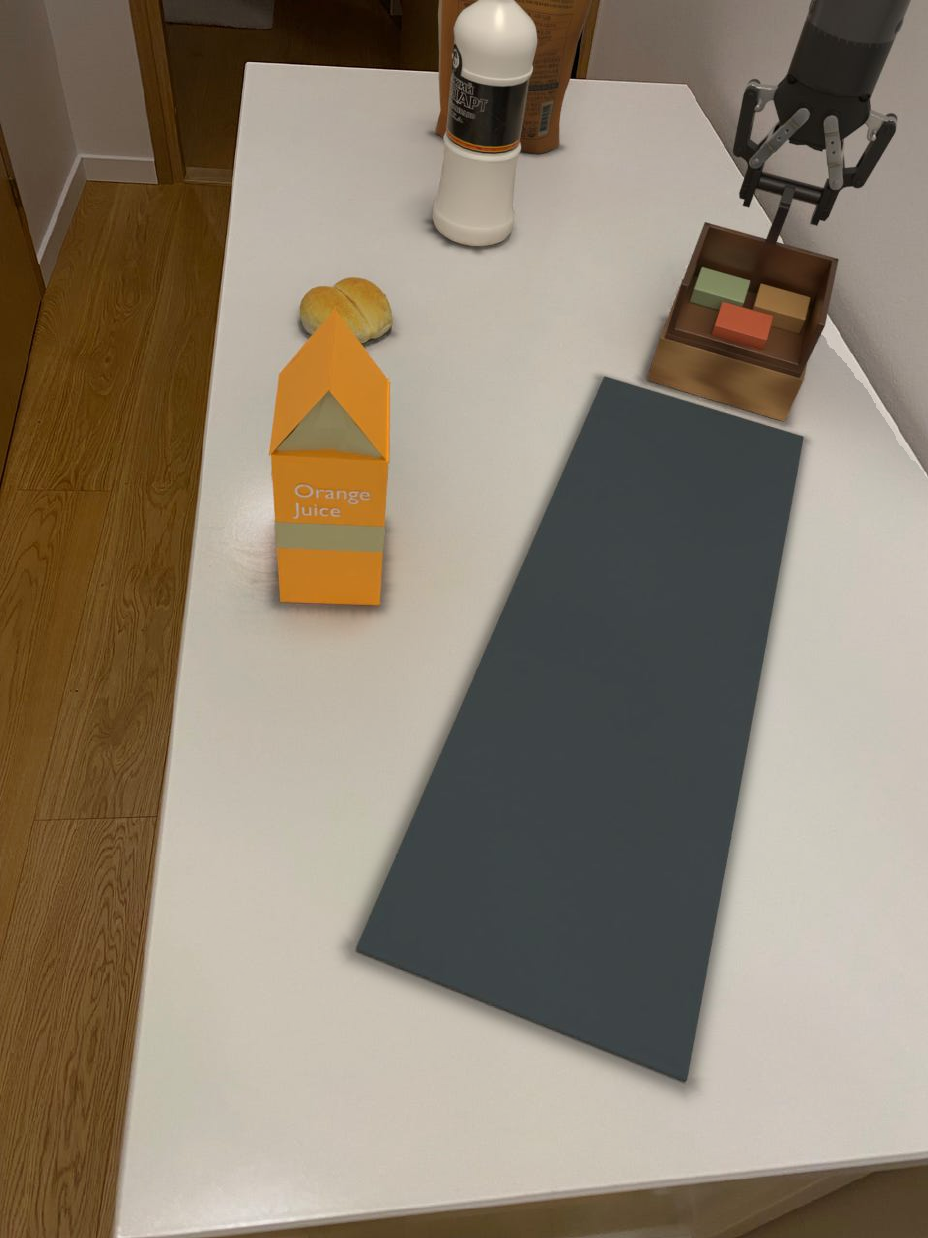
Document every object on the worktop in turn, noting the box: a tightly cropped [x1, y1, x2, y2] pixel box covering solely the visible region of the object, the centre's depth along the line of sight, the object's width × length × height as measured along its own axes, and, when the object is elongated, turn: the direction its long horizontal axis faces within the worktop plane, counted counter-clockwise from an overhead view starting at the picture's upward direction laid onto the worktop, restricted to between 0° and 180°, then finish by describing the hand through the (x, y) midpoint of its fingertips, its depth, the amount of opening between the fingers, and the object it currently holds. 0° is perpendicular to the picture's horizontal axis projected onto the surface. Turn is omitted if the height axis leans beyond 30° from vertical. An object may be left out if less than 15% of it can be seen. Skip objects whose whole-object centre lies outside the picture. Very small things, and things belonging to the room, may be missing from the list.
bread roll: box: [299, 276, 394, 345], centre depth 93 cm, size 8×9×4 cm
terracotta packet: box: [711, 302, 773, 350], centre depth 90 cm, size 5×4×2 cm
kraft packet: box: [752, 284, 810, 334], centre depth 93 cm, size 5×4×2 cm
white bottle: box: [432, 0, 537, 247], centre depth 98 cm, size 9×9×30 cm
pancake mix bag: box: [434, 0, 593, 155], centre depth 113 cm, size 7×19×28 cm, turn 90°
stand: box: [646, 279, 808, 422], centre depth 95 cm, size 14×12×5 cm
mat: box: [355, 376, 805, 1082], centre depth 73 cm, size 20×61×1 cm, turn 161°
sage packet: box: [690, 267, 750, 310], centre depth 93 cm, size 5×4×2 cm
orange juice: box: [268, 307, 391, 606], centre depth 67 cm, size 8×9×20 cm
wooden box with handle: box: [664, 171, 839, 378], centre depth 90 cm, size 13×15×10 cm
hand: (780, 211), depth 92 cm, fingers closed on wooden box with handle, 6 cm apart
